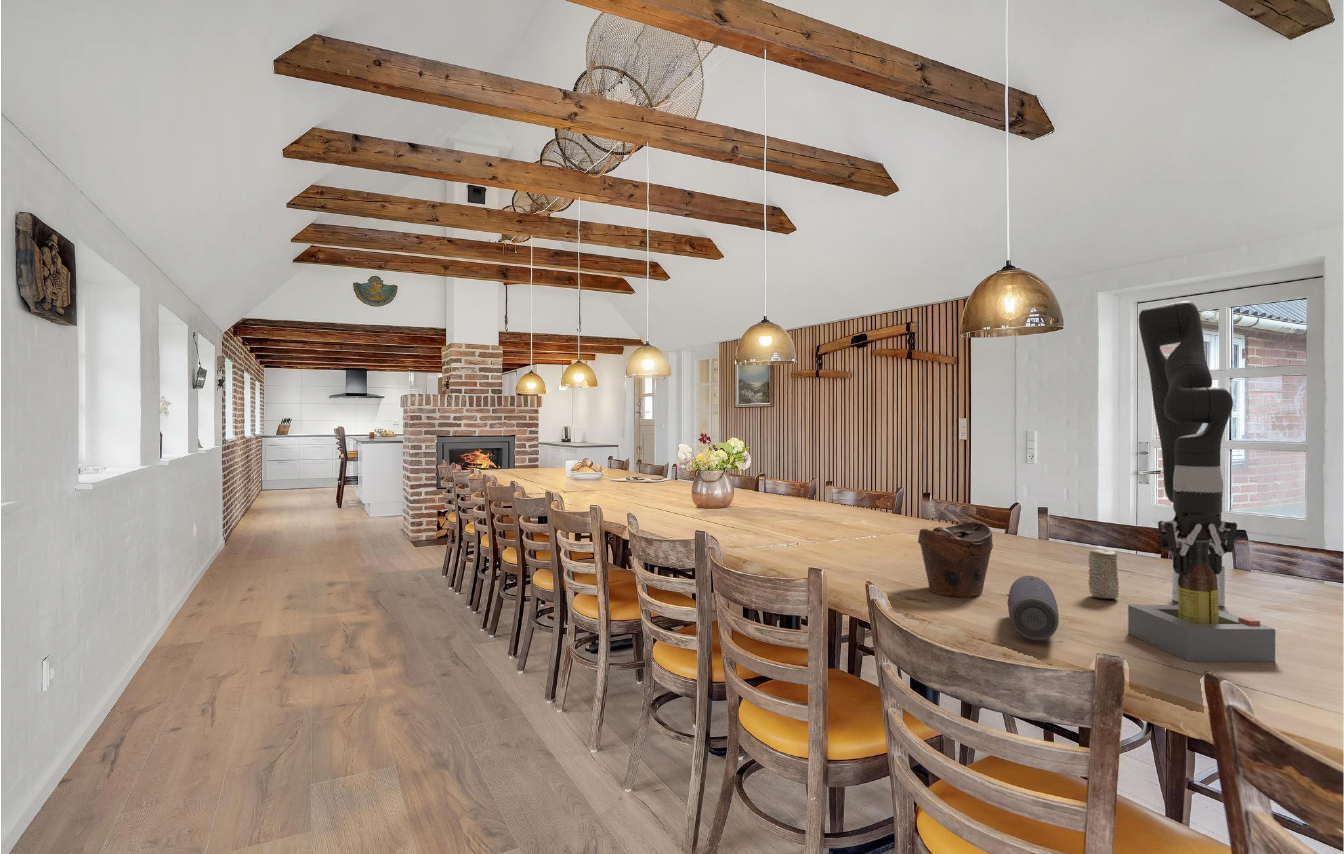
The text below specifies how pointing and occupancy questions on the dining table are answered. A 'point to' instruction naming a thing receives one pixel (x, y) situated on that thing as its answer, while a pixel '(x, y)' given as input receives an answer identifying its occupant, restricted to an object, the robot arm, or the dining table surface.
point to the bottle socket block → (1202, 635)
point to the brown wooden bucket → (956, 558)
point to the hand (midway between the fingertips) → (1197, 573)
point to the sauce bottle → (1198, 587)
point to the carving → (1103, 574)
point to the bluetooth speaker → (1033, 608)
